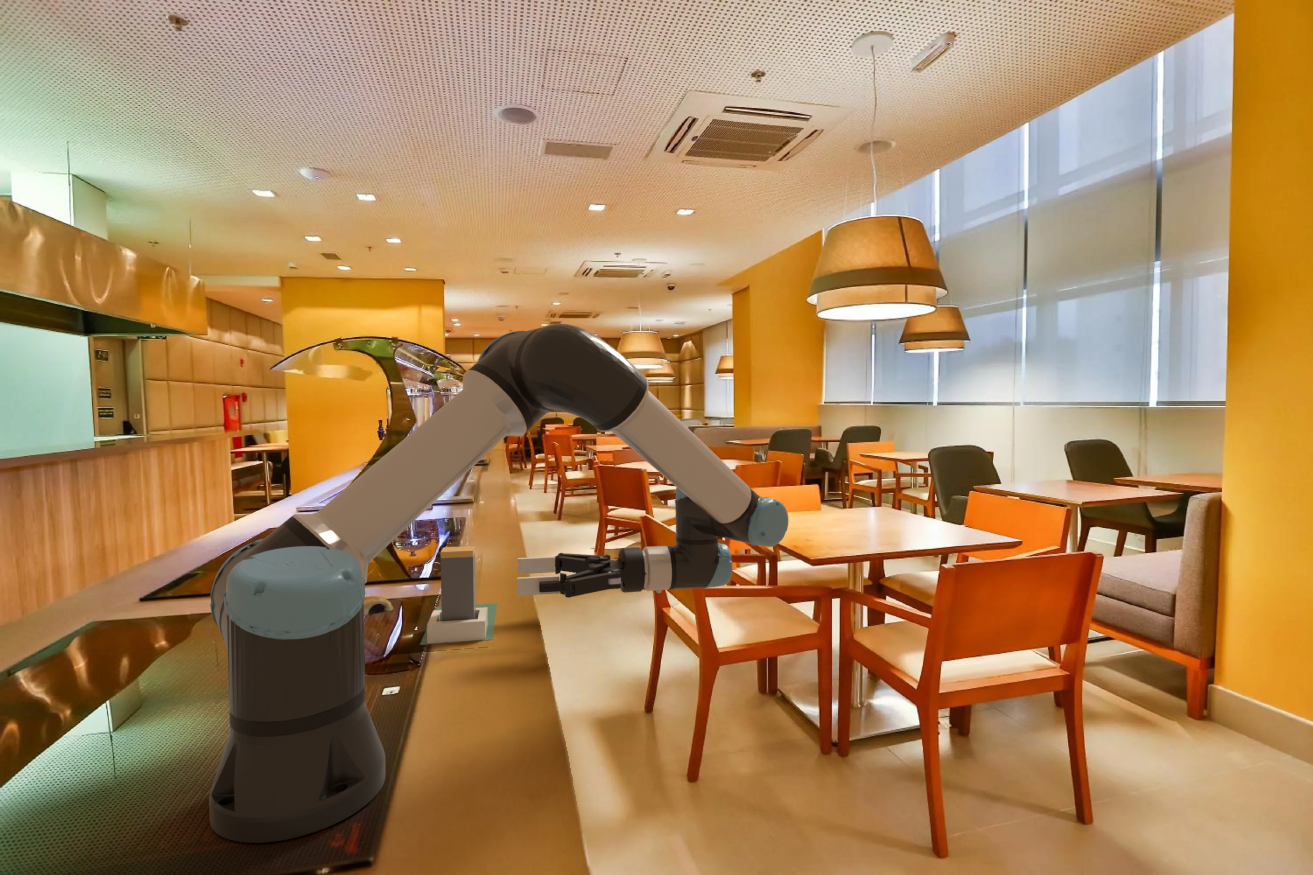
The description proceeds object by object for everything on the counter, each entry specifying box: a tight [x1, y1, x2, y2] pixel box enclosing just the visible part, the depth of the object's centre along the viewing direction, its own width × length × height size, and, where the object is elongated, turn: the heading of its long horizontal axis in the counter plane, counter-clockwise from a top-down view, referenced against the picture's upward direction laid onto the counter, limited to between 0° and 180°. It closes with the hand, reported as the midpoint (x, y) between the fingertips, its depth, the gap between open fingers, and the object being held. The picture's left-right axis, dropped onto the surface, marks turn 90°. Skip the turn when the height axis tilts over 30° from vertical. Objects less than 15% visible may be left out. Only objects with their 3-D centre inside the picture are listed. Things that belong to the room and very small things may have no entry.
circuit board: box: [419, 602, 498, 653], centre depth 112 cm, size 20×11×1 cm, turn 12°
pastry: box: [364, 595, 394, 617], centre depth 120 cm, size 9×7×4 cm
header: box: [426, 607, 488, 645], centre depth 106 cm, size 7×9×3 cm
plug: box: [440, 545, 477, 621], centre depth 106 cm, size 4×5×14 cm
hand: (517, 575), depth 108 cm, fingers open, 13 cm apart
